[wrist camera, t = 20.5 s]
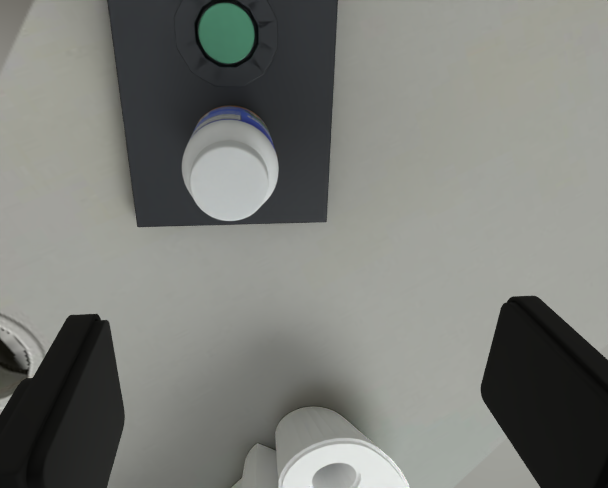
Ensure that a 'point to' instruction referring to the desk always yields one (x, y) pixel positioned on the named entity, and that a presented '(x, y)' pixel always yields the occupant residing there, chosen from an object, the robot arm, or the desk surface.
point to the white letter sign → (319, 456)
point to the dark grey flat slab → (225, 101)
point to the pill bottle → (230, 163)
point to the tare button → (226, 33)
